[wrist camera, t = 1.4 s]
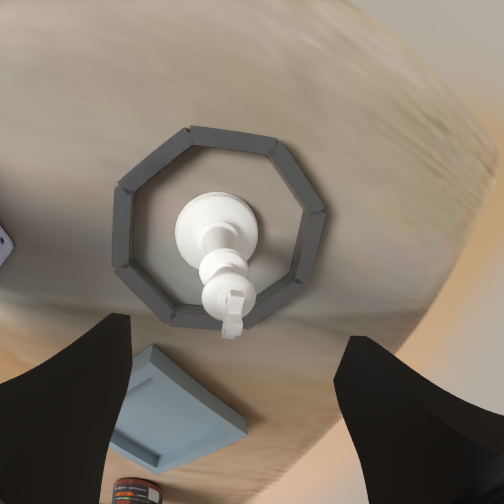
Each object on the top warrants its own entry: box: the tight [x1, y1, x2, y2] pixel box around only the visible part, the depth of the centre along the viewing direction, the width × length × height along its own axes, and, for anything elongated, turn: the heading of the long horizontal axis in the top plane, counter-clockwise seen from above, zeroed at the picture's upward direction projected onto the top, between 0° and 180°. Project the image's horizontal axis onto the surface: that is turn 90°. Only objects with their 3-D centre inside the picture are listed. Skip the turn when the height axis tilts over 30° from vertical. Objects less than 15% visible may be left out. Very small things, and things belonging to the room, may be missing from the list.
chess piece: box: [175, 192, 258, 340], centre depth 14 cm, size 5×5×10 cm
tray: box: [109, 344, 248, 475], centre depth 23 cm, size 11×11×2 cm
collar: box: [112, 126, 326, 330], centre depth 18 cm, size 12×12×1 cm
